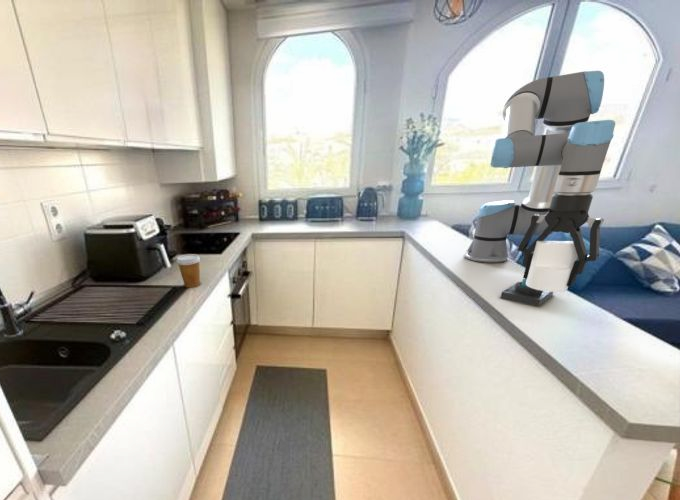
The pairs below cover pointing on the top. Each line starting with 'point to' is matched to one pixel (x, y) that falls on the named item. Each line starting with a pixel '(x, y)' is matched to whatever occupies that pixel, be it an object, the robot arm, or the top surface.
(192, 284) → the disposable coffee cup
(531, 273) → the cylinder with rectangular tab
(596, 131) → the robot arm
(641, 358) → the top surface
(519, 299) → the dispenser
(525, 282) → the button
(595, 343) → the top surface
